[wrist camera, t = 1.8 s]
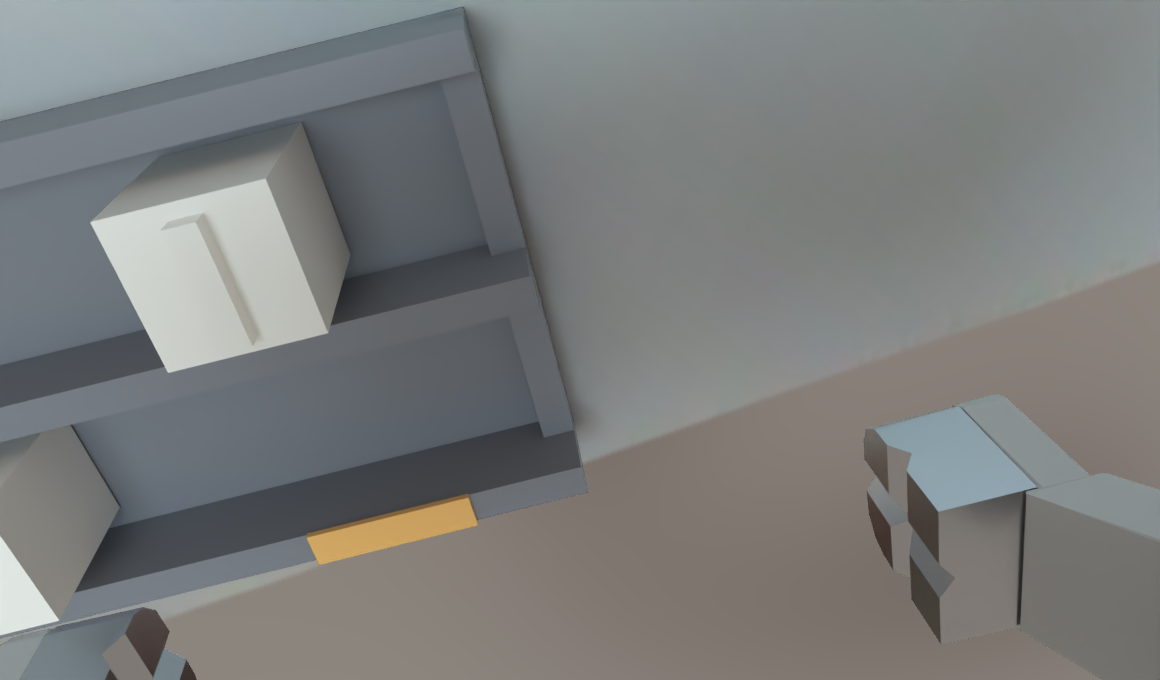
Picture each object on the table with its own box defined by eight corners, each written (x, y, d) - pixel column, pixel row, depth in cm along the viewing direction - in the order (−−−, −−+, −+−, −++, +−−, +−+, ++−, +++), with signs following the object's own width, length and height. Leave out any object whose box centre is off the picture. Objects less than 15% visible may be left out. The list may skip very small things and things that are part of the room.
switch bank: (462, 4, 24) (462, 27, 21) (575, 428, 31) (589, 497, 27) (-409, 221, 24) (-550, 278, 21) (-105, 597, 31) (-174, 687, 27)
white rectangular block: (301, 121, 24) (259, 187, 19) (350, 254, 26) (324, 345, 21) (157, 157, 24) (79, 231, 19) (217, 287, 26) (160, 385, 21)
